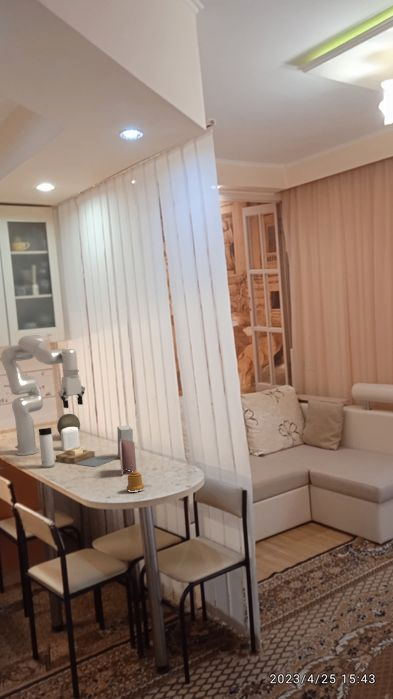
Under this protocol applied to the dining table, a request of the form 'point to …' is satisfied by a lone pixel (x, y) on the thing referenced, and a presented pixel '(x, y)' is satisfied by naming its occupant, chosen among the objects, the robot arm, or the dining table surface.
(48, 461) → the travel mug
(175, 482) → the dining table surface
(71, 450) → the cream rectangular block
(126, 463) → the greeting card
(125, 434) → the skincare box
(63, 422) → the cantaloupe
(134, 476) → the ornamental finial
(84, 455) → the tan flat square block
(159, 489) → the dining table surface
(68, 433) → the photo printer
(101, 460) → the mat
